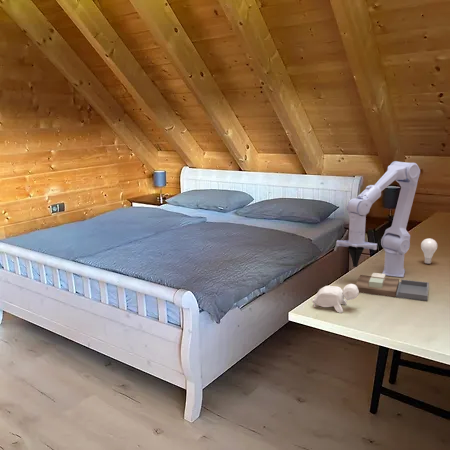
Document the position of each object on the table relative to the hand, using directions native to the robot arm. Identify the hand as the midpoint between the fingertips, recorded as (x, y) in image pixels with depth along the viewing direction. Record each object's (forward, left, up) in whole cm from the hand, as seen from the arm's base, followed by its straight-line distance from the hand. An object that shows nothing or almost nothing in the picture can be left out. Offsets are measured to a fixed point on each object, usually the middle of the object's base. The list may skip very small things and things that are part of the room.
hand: (355, 266), depth 179 cm
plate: (+3, +8, -7) cm, 11 cm away
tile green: (+6, +8, -5) cm, 11 cm away
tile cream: (0, +8, -5) cm, 10 cm away
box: (+3, +21, -7) cm, 22 cm away
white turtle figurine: (+26, -2, -7) cm, 27 cm away
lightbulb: (-34, +24, -7) cm, 42 cm away
